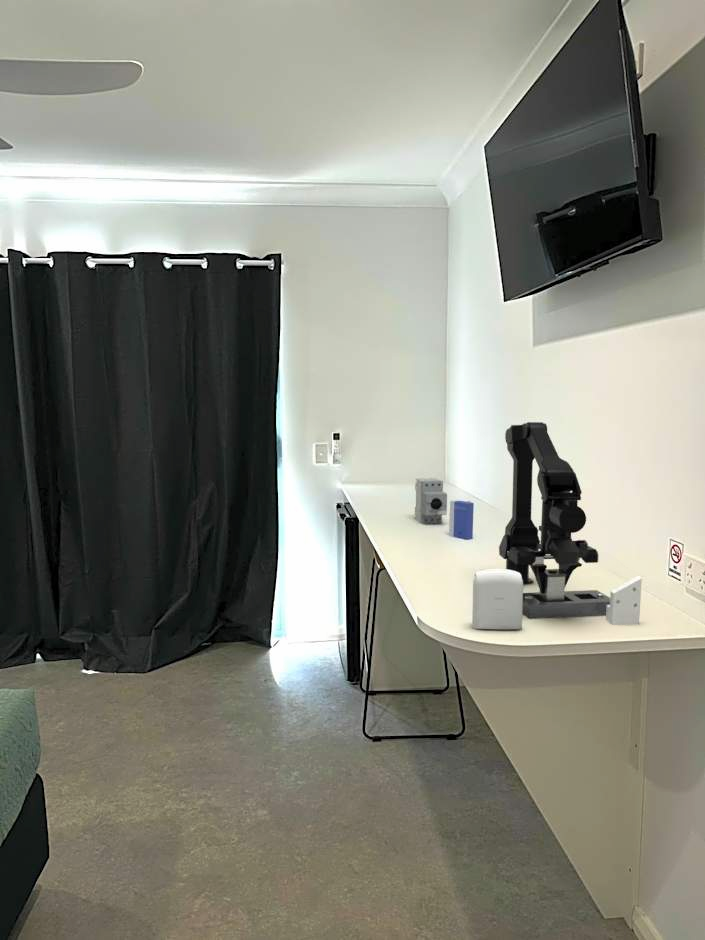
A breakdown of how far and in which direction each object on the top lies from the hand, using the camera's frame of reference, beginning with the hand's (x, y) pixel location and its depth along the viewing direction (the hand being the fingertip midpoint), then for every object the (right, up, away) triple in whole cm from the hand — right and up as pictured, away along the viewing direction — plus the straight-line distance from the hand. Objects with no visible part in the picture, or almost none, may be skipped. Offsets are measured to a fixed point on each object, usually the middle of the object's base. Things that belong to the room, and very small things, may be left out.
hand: (551, 592), depth 168 cm
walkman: (-9, +5, +77) cm, 78 cm away
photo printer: (-14, -6, -11) cm, 19 cm away
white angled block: (+13, -5, -6) cm, 16 cm away
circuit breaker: (-16, +8, +101) cm, 103 cm away
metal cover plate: (+3, -4, +1) cm, 5 cm away
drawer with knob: (0, -1, 0) cm, 1 cm away
